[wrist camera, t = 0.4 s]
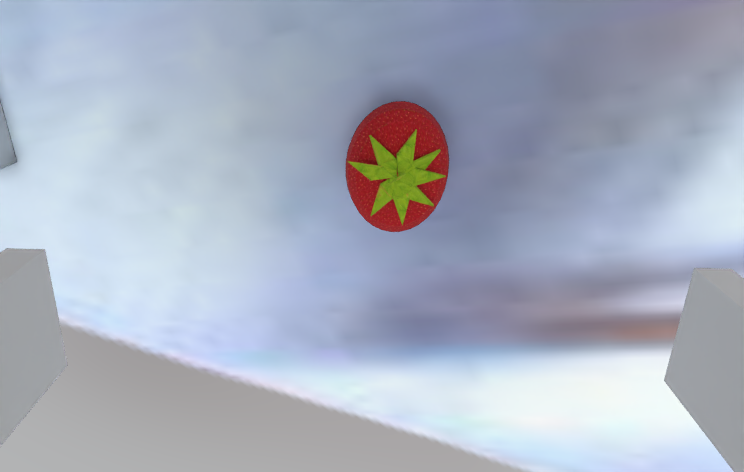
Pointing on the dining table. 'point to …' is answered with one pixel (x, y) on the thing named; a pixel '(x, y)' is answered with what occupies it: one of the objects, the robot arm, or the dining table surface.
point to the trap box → (5, 143)
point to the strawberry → (397, 166)
